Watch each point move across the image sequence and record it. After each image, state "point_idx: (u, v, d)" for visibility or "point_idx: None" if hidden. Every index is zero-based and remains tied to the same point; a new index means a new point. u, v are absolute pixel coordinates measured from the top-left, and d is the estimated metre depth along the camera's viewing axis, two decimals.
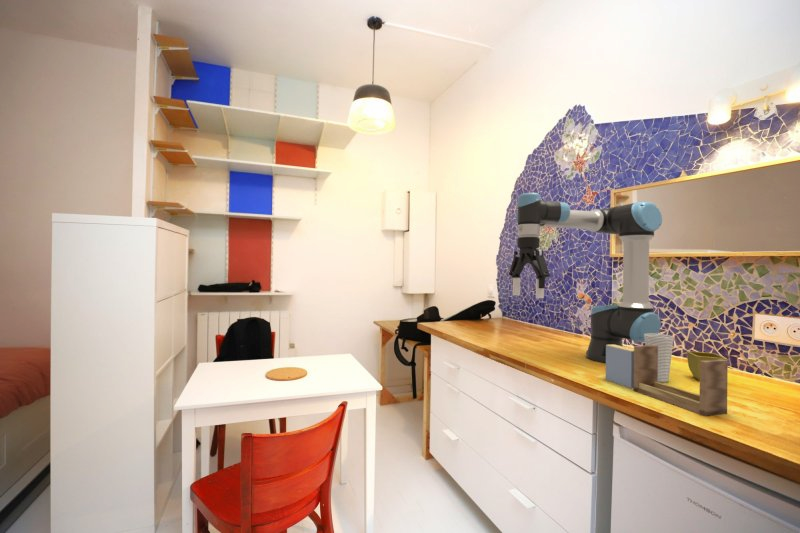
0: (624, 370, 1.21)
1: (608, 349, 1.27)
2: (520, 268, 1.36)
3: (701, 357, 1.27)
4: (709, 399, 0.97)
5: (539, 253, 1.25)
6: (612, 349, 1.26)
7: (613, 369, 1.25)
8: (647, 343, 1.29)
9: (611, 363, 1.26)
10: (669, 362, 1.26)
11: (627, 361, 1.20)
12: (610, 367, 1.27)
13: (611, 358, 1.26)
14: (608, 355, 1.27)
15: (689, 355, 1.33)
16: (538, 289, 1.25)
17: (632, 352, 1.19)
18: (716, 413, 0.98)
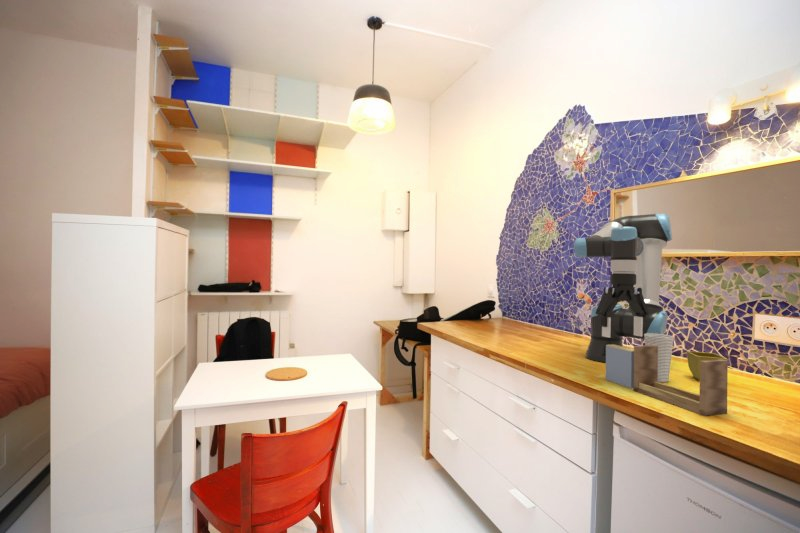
0: (624, 370, 1.21)
1: (608, 349, 1.27)
2: (632, 306, 1.26)
3: (701, 357, 1.27)
4: (709, 399, 0.97)
5: (605, 290, 1.23)
6: (612, 349, 1.26)
7: (613, 369, 1.25)
8: (647, 343, 1.29)
9: (611, 363, 1.26)
10: (669, 362, 1.26)
11: (627, 361, 1.20)
12: (610, 367, 1.27)
13: (611, 358, 1.26)
14: (608, 355, 1.27)
15: (689, 355, 1.33)
16: (603, 327, 1.23)
17: (632, 352, 1.19)
18: (716, 413, 0.98)
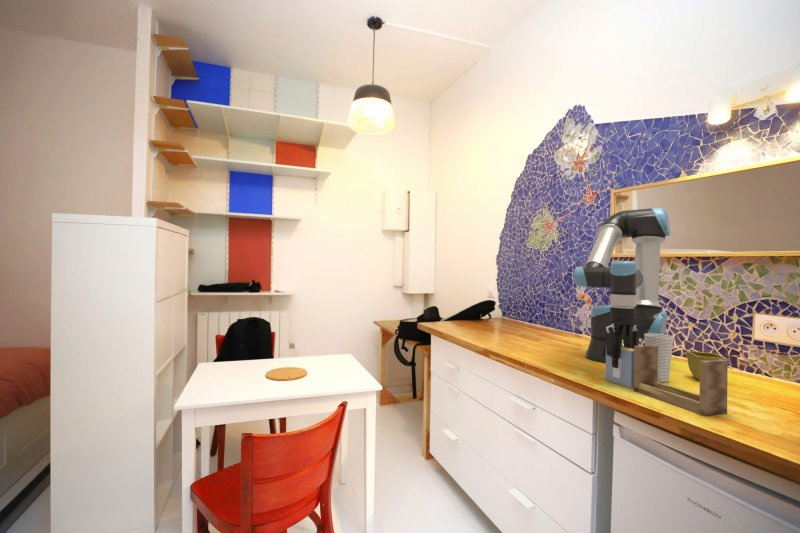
0: (624, 370, 1.21)
1: None
2: (626, 342, 1.25)
3: (701, 357, 1.27)
4: (709, 399, 0.97)
5: (606, 331, 1.23)
6: None
7: None
8: (647, 343, 1.29)
9: (611, 363, 1.26)
10: (669, 362, 1.26)
11: (627, 361, 1.20)
12: (610, 367, 1.27)
13: (611, 358, 1.26)
14: None
15: (689, 355, 1.33)
16: (614, 368, 1.24)
17: (632, 352, 1.19)
18: (716, 413, 0.98)
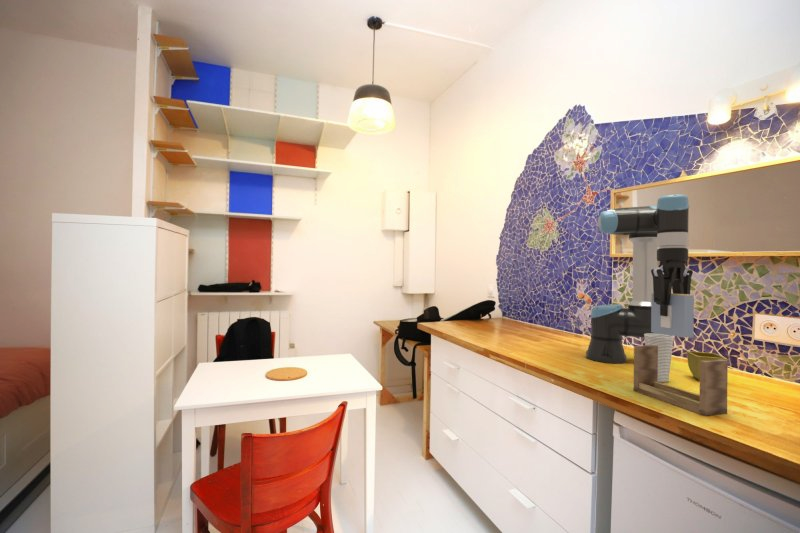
0: (675, 318, 1.06)
1: None
2: (676, 288, 1.10)
3: (701, 357, 1.27)
4: (709, 399, 0.97)
5: (654, 274, 1.08)
6: None
7: (660, 319, 1.10)
8: (647, 343, 1.29)
9: (659, 312, 1.11)
10: (669, 362, 1.26)
11: (679, 307, 1.05)
12: (657, 317, 1.11)
13: (658, 307, 1.11)
14: (654, 304, 1.12)
15: (689, 355, 1.33)
16: (662, 317, 1.09)
17: (685, 296, 1.04)
18: (716, 413, 0.98)
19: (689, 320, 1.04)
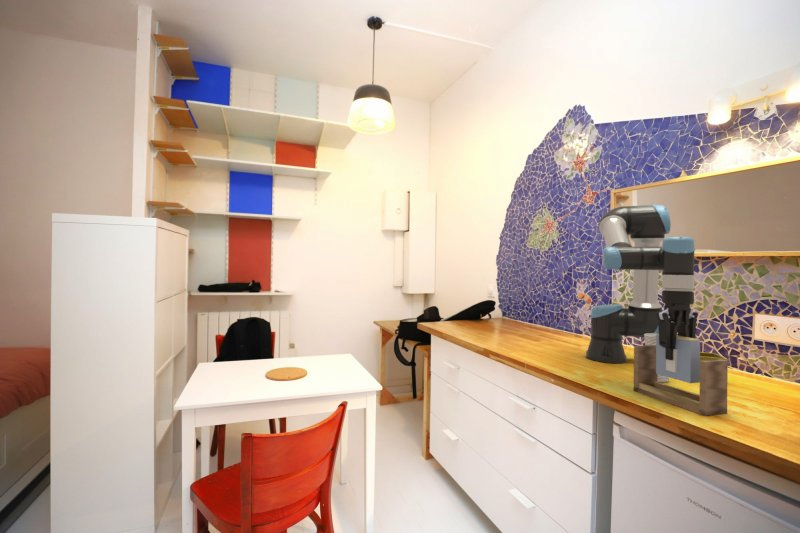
0: (681, 362, 1.05)
1: None
2: (681, 331, 1.08)
3: (701, 357, 1.27)
4: (709, 399, 0.97)
5: (659, 317, 1.06)
6: None
7: None
8: (647, 343, 1.29)
9: (664, 354, 1.09)
10: None
11: (685, 351, 1.04)
12: (662, 359, 1.10)
13: (663, 349, 1.10)
14: (659, 346, 1.11)
15: None
16: (667, 360, 1.08)
17: (691, 341, 1.02)
18: (716, 413, 0.98)
19: (695, 365, 1.03)
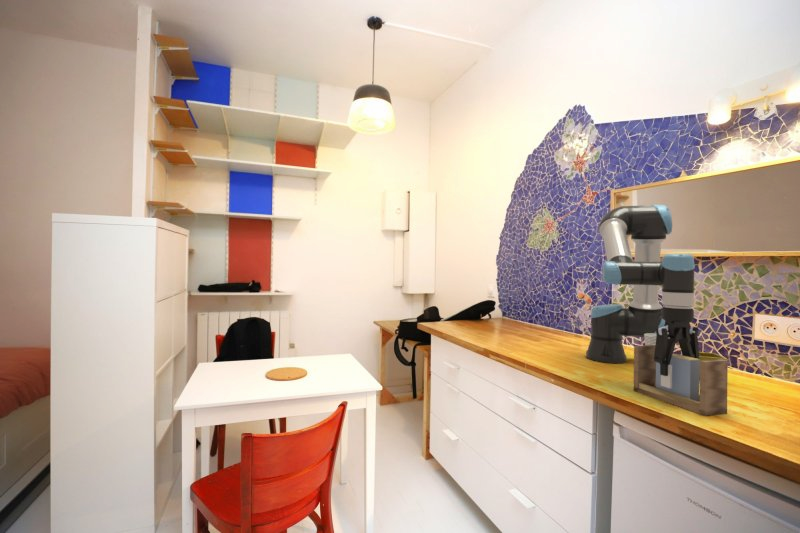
0: (680, 382, 1.05)
1: None
2: (683, 347, 1.09)
3: (701, 357, 1.27)
4: (709, 399, 0.97)
5: (658, 332, 1.06)
6: None
7: None
8: (647, 343, 1.29)
9: None
10: None
11: (684, 371, 1.04)
12: None
13: None
14: (659, 364, 1.11)
15: None
16: (662, 375, 1.07)
17: (691, 361, 1.03)
18: (716, 413, 0.98)
19: (694, 385, 1.03)
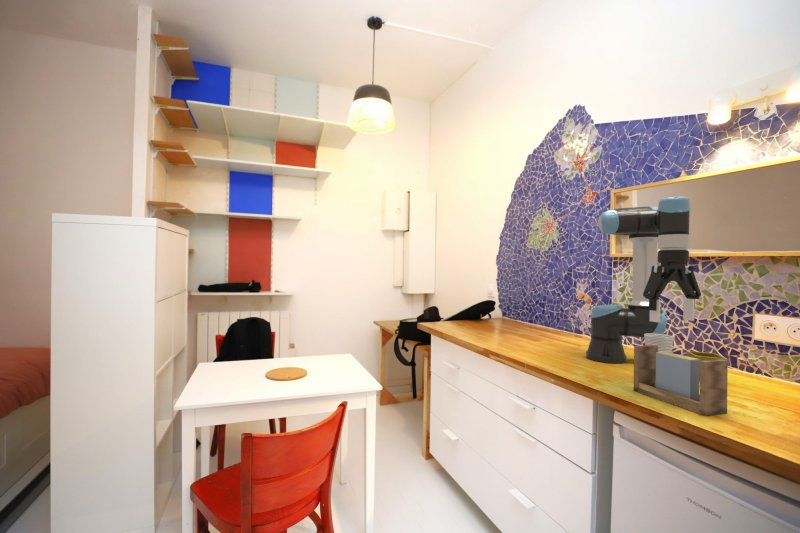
0: (680, 382, 1.05)
1: (659, 357, 1.11)
2: (683, 286, 1.11)
3: (701, 357, 1.27)
4: (709, 399, 0.97)
5: (653, 270, 1.08)
6: (665, 357, 1.09)
7: (665, 380, 1.09)
8: (647, 343, 1.29)
9: (663, 373, 1.10)
10: None
11: (684, 371, 1.04)
12: (661, 378, 1.10)
13: (663, 368, 1.10)
14: (659, 364, 1.11)
15: (689, 355, 1.33)
16: (651, 311, 1.09)
17: (691, 361, 1.03)
18: (716, 413, 0.98)
19: (694, 385, 1.03)
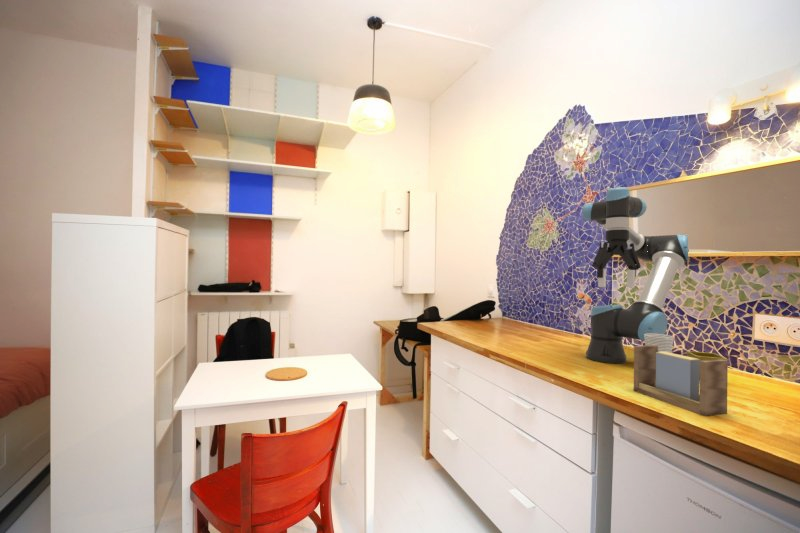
0: (680, 382, 1.05)
1: (659, 357, 1.11)
2: (626, 260, 1.39)
3: (701, 357, 1.27)
4: (709, 399, 0.97)
5: (601, 245, 1.36)
6: (665, 357, 1.09)
7: (665, 380, 1.09)
8: (647, 343, 1.29)
9: (663, 373, 1.10)
10: None
11: (684, 371, 1.04)
12: (661, 378, 1.10)
13: (663, 368, 1.10)
14: (659, 364, 1.11)
15: (689, 355, 1.33)
16: (599, 278, 1.36)
17: (691, 361, 1.03)
18: (716, 413, 0.98)
19: (694, 385, 1.03)
